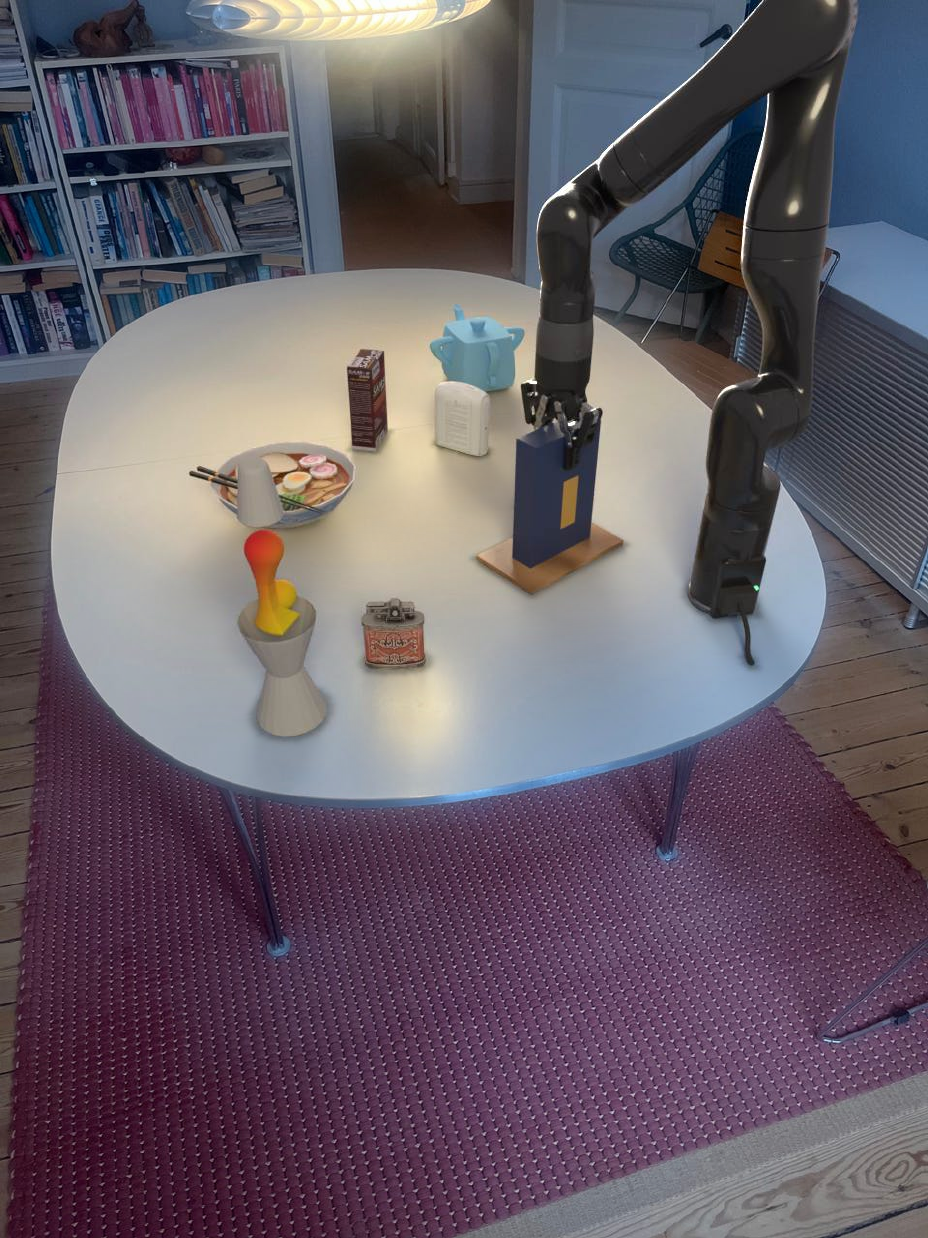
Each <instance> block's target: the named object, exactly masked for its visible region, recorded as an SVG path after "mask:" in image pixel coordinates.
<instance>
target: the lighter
mask: <svg viewBox="0 0 928 1238" xmlns="http://www.w3.org/2000/svg"><path fill="white" fill-rule="evenodd" d="M360 620H361V626H362V627H363V637H364V638H363V639H364V651H365V655H364V665H365V666H366V668H367V669H371V670H377V671H378V670H379V671H404V670H405V671H406V670H413V669H419V668H422V667H424V666H425V665H426V662H427V656H426V653H425V638H424V637H425V636H424V635H425V633H424V624H425V615H424V613H423V612H422V611H419V610H415V602H414V601H412V600H407V601H406V600H404V601H402V600H401V599H400V598H397V597H393V598H391V599H390V600H389V601H385V600H381V601H380V600H379V601H378V600H376V601H375V600H374V601H373V600H371V601H367V602H366V603H365V612H364V613H363V614H362V615H361V618H360Z"/></svg>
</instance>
